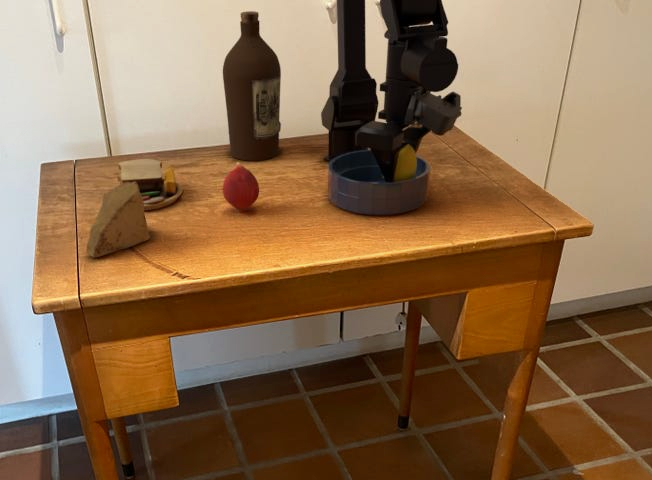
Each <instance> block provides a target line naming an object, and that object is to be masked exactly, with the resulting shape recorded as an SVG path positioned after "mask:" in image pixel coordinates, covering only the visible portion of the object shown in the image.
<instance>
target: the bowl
mask: <svg viewBox="0 0 652 480" xmlns="http://www.w3.org/2000/svg"><path fill="white" fill-rule="evenodd" d="M416 158H417V168H416V172H415V175H414V177H413V178H412V179H408V180H404V181H398V182H387V183H386V182H385V180H384V178H383V175H382V173H381V170H380V168H379V166H378V163H377V161H376V159H375V157H374V155H373V153H372V151H371V149H370V148H369V149H368V150H359V151H354V152H349V153H345V154H342V155H339V156H337V157H336V158H334V159H332V160H331V161H330V162H328V169H327V170H328V171H327V173H328V175H327V198H328V200H329V201H330V203H332V204H333V205H334V206H336V207H338V208H340V209H342V210H344V211H348V212H351V213H354V214H358V215H359V214H360V215H365V216H392V215H399V214H405V213H408V212H410V211H414V210H415V209H418V208H420V207H421V206H422V205H423V204H425V203H426V202H427V199H428V197H429V187H430V178H431V177H430V176H431V165H430V164H431V163H430V162H429V161H428V160H426V159H425V158H424V157H422V156H421V155H417V154H416Z"/></svg>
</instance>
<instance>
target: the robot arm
mask: <svg viewBox="0 0 652 480" xmlns="http://www.w3.org/2000/svg"><path fill="white" fill-rule="evenodd" d="M379 6H380V13H381V17H382V19H383V21H384V24H385V27H386V29H387V30H386V31H385V32H384V34H383V35H384V36H383V37H384V39H387V48H386V49H387V51H386V67H385V80H384V82H381V83H379V92H384V97H383V98H384V99H383V100H384V101H383V109H381V110H379V111H378V109H379V98H378V94H377V86H378V83H377V81H376V79H375V78H373V77H372V76H371V74H370V73H369V71H368V69H367V64H366V63H367V56H366V55H367V54H366V53H367V52H366V51H367V47H366V42H367V41H366V0H336V25H337V26H336V27H337V71H336V73H335V75H334V76H333V78H332V80H331V82H330V84H329V91H328V94H329V96H328V97H327V100H326V102H325V104H324V107H323V108H322V110H321V113H320V117H321V125H322V126H323V127H324V128H325V129H326V130H327V131H328V139H327V141H328V147H327V148H328V149H327V155H326V156H324V157H323V162H328V163H330V161H331V160H332V159H334V158H336V157H337V156H339V155H342V154H345V153H349V152H354V151H359V150H370V149H371V151H372V153H373V155H374V157H375V159H376V161H377V163H378V166H379V168H380V170H381V173H382V175H383V177H384V180H385V182H386V183H387V182H393V180H394V176H395V171H396V166H397V161H398V156H399V152H400V151H401V150H402V149H403V148H405V147H406V146H407V145H408V144H409V145H410V146H412V148H413V149H414V151H415V153H416V154H417V153H418V150H419V147H420V145H421V142H422V141H423V138H424V137H425V136H427V135H429V133H430V132H432V133H433V134H434V135H436V136H439V137H441V136H444V135H445V134H447V133H448V132H450V131H452V130H453V128H454V125H455V124H456V122H457V119H458V118H460V117H461V116H462V109H463V106H461V101H462V100H461V99H462V97H461V95H460V94H459V93H458V92H455V91H451V92H449V93H448V94H446V95H445V96H443V97H442V95H441V94H439V95H435V94H433V93H439V92H443V91H444V90H446V89H447V88H449V87H450V86H451V85H452V84H453V82H454V81H455V79H456V77H457V75H458V71H459V63H458V59H457V56H456V54H455V52H453V50H451V49H450V48H448V38H447V37H448V35H449V30H448V25H449V20H448V17H447V14H446V10H445V8H444V5H443V1H442V0H379ZM431 23H432V24H431ZM376 117H377V119H378V120H383V121H385V122H382V121H376ZM402 141H404V142H405V143H404V142H402Z"/></svg>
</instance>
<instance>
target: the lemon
mask: <svg viewBox="0 0 652 480" xmlns="http://www.w3.org/2000/svg"><path fill="white" fill-rule="evenodd" d="M402 142H404V141H402ZM404 143H405V142H404ZM416 155H417V153H415V151H414V149H413V148H412V146H410V145H409V144H408V145H407V146H406V147H405V148H403V149H402V150H401V151H400V152H399V156H398V161H397V166H396V171H395V176H394V180H393V182H398V181H404V180H408V179H412V178H413V177H414V175H415V172H416V168H417V158H416ZM383 178H384V177H383Z"/></svg>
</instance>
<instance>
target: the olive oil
mask: <svg viewBox="0 0 652 480" xmlns="http://www.w3.org/2000/svg"><path fill="white" fill-rule="evenodd" d="M259 16H260V15H259V12H258V11H255V10H253V11H252V10H250V11H249V10H248V11H243V12H240V22H239V24H240V37H239V38H238V40H237V41H236V42H235V44H234V45H233V46H232V48H230V50H229V51H228V53H227V54H226V56H225V58H224V61H223V65H222V81H223V88H224V97H225V107H226V119H227V129H228V140H229V151H230V155H231V157H233V158H234V159H237V160H241V161H245V162H247V161H248V162H256V161H257V162H258V161H265V160H270V159H272V158H275V157H276V156H277V155H279V152H280V133H281V130H282V123H281V121H280V110H281V107H280V106H281V81H282V78H281V77H282V71H281V70H282V69H281V64H280V61H279V57H278V55H277V53H276V52H275V51H274V49H273V48H272V47H271V46H270V45H269V44H268V43H267V42H266V41H265V40H264V39H263V37H262V36H261V34H260V30H261V29H260V28H261V27H260V20H259Z"/></svg>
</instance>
